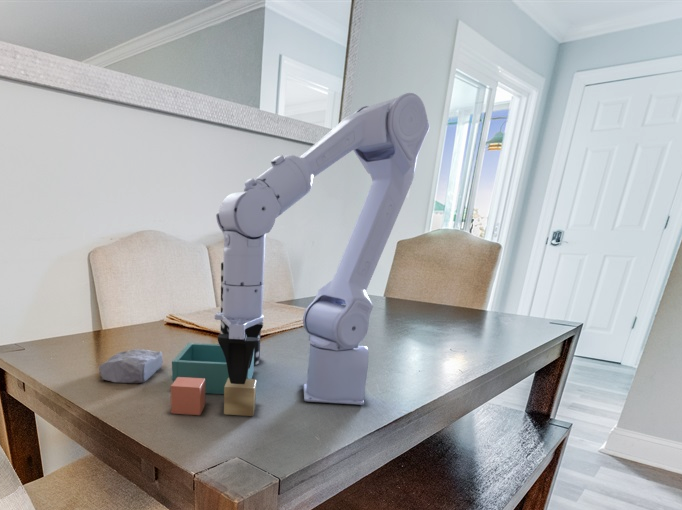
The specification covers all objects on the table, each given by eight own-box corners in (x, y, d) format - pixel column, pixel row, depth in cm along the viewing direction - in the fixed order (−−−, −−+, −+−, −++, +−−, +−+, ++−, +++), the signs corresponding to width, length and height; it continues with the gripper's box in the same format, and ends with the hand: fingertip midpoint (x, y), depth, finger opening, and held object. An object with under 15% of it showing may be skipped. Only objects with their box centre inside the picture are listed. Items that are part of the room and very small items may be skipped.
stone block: (97, 390, 85) (147, 383, 83) (91, 365, 84) (141, 357, 81) (122, 373, 96) (167, 366, 94) (117, 350, 95) (162, 343, 92)
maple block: (255, 405, 74) (256, 379, 72) (253, 416, 70) (254, 388, 68) (227, 403, 75) (228, 377, 73) (223, 414, 70) (224, 386, 69)
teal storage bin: (253, 372, 90) (254, 345, 88) (247, 395, 78) (248, 365, 76) (188, 369, 92) (188, 342, 90) (172, 391, 80) (171, 361, 78)
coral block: (205, 404, 74) (205, 378, 73) (200, 415, 70) (199, 387, 68) (178, 403, 75) (177, 376, 73) (171, 413, 71) (170, 385, 69)
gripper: (222, 277, 72) (221, 360, 77) (206, 289, 59) (206, 389, 64) (267, 278, 71) (263, 362, 76) (261, 291, 58) (257, 392, 63)
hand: (240, 375), depth 70 cm, fingers open, 7 cm apart
